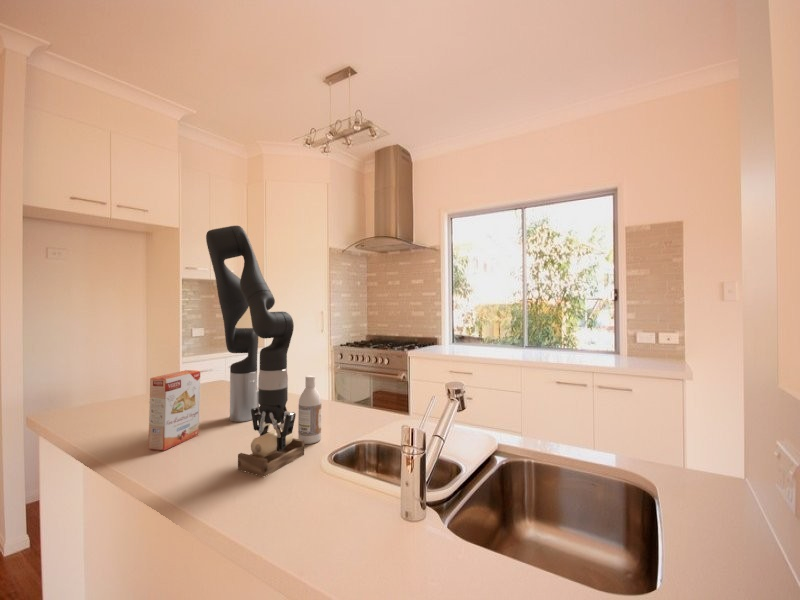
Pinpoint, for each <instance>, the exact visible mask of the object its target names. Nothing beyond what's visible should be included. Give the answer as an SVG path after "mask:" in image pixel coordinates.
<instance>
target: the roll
mask: <svg viewBox="0 0 800 600" xmlns="http://www.w3.org/2000/svg"><path fill="white" fill-rule="evenodd" d="M280 430H281V428H280ZM268 432H269V433H266V434H264V435H262V436H260V435H259V436H257V437H254V438H253V439H252V440H251V443H250V450H251V454H252V453H253V455H254V456H256V457H260V458H264V457H265V456H267V455H269V454H271V453H273V452H275V451H277V433H276V430H275V429H273V430H272V431H268ZM281 432H282V430H281ZM293 438H294V437H293V432H292V433H291V434H289V435H287V436H286V446H287V445H288V444H290V443H291V442H292V439H293Z"/></svg>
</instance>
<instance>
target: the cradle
mask: <svg viewBox="0 0 800 600" xmlns="http://www.w3.org/2000/svg"><path fill="white" fill-rule="evenodd" d="M304 455H305V444H304V440H299V439H298V438H294V437H293V439H292V442H291V443H290V444H288V445H287V446H285V448H284V450H282V451H275V452H273V453H271V454H269V455H267V456H265V457H264V458H260V457H256V456H254V455H253V453H252V452H251V453H250V454H247V453H245V452H244V453H243V452H240V453H238V454H237V471H240V470H242V471H241V472H244V471H246V472H245V473H248V472H249V474H251V473H253V474H252V475H255V474H257V475H256V476H259V475H260V476H259V477H262V476H265V477H267V476H268V474H269V475H270V473H271V474H272V473H273V472H276V471H278V470H279V469H281V468H283V467H285V466H286V465H288V464H290V463H292V462H293V461H295V460H297V459H299V458H300V457H302V456H304ZM277 469H278V470H277ZM266 475H267V476H266Z"/></svg>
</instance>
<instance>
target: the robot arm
mask: <svg viewBox="0 0 800 600" xmlns="http://www.w3.org/2000/svg"><path fill="white" fill-rule="evenodd" d="M205 240H206V241H205V242H206V247H207V250H208V253H209V258H210V261H211V265H212V268H213V273H214V277H215V282H216V290H217V297H218V301H219V303H218V304H219V306H220V310H221V315H222V320H223V326H224V327H223V328H224V338H225V345H226V350H227V351H228V352H229V353H230V354H248V355H247V356H246V357H244V358H243V359H242V360H239V361H236V362H233V363H232V364H231V365H230V371H229V372H230V373H229V420H230V421H231V422H237V423H238V422H248V421H251V420H252V426H253V430H254V431H255V432H256V431H257V432H258V434H259V436H262V435H264V434H266V433H269V432H270V431H269V430H270V429H269V428H270V426H271V425H272V427H273V430H276V433H277V451H282V450H284V448H285V446H286V436H287V435H289V434H291V433H292V434H293V430H294V425H295V420H296V412H293V411H292V412H290V411H288V409H287V407H286V404H287V402H288V399H289V398H288V397H289V396H288V395H289V394H288V390H289V389H288V385H289V384H288V381H289V377H288V351H289V347H290V344H291V340H292V336H293V333H294V319H293V317H292V315H291V314H290V313H289V312H287V311H269V310H270V309H271V310H272V309H273V307H274V305H275V303H276V301H275V296H274V295H273V293H272V291H271V289H270V288H269V286H268V284H267V282H266V281H265V279H264V276H263V273H262V272H261V269H260V266H259V263H258V260H257V257H256V255H255V252H254V249H253V247H252V244H251V242H250V239H249V237H248V234H247V233H246V231H245V229H244V228H243V227H241V225H230V226H223V227H219V228H214V229H210V230H208V231H207V232H206V235H205ZM241 256H242V257H243V261H244V262H243V268H242V272H241V276H240V277H238V275H236V274H235V273H233V272H232V271H231V270H230V268H228V266H227V265H226V263H225V261H226V260H229V259H232V258H238V257H241ZM248 309H249V314H250V319H251V327H236V326H237V324H238V322H239V321H240V319H241V318H242V317H243V316H244V315H245V314H246V313H247V311H248ZM259 338H260V339H272V341H271V343H270V344H269V345H267V346H264V347H263V348H261V349H260V350H259V369H258V348H259ZM258 371H259V372H258ZM280 428H281V430H282V432H281V430H280Z"/></svg>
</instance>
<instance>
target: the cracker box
mask: <svg viewBox="0 0 800 600" xmlns="http://www.w3.org/2000/svg"><path fill="white" fill-rule="evenodd" d="M149 380H150V381H149V413H148V414H149V415H148V416H149V417H148V449H149V450H154V451H164V452H165V451H166V450H168V449H171V448H173V447H174V446H177V445H179V444H181V442H182V443H184V442H185V441H188V440H190V439H192V438H195V437H197V436H199V435H198V434H199V433H200V403H201V402H200V400H201V398H200V397H201V396H200V395H201V370H191V369H190V370H189V369H188V370H187V369H185V370H180V371H177V372H172V373H167V374H164V375H158V376H155V377H151V378H150V379H149ZM196 435H197V436H196ZM194 436H195V437H194Z"/></svg>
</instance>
